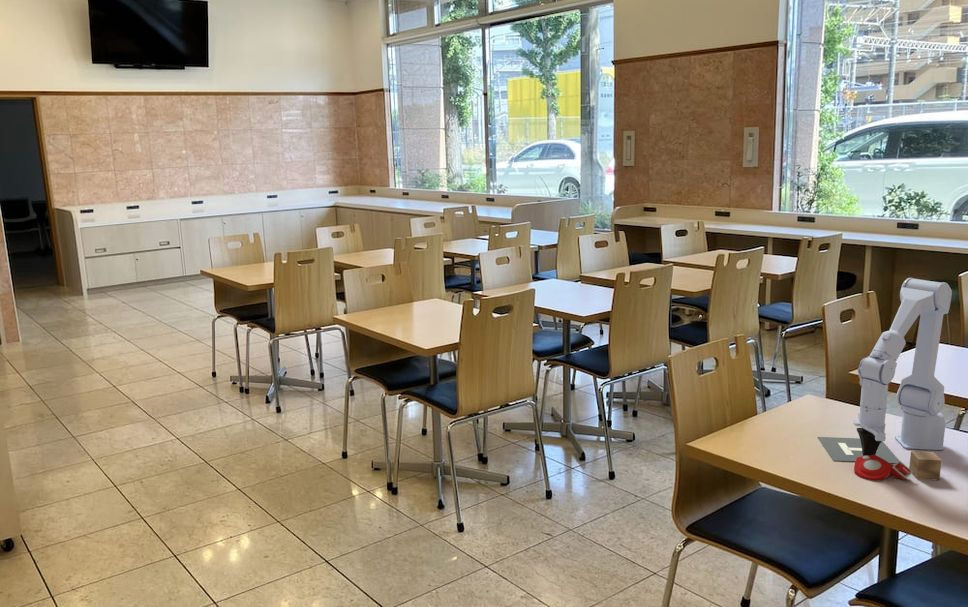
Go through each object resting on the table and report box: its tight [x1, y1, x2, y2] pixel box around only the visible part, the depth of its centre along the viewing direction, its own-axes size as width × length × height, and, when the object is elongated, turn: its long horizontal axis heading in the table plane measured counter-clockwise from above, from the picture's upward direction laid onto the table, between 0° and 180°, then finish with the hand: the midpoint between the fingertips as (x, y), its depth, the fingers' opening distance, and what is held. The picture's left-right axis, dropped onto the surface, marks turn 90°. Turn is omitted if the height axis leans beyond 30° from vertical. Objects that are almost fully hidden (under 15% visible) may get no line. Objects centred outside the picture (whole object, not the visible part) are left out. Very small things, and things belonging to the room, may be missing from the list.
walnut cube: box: [908, 450, 942, 481], centre depth 191 cm, size 5×5×5 cm
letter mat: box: [817, 436, 900, 465], centre depth 207 cm, size 16×16×1 cm
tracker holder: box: [853, 455, 913, 481], centre depth 192 cm, size 12×4×10 cm
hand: (868, 457), depth 198 cm, fingers closed
